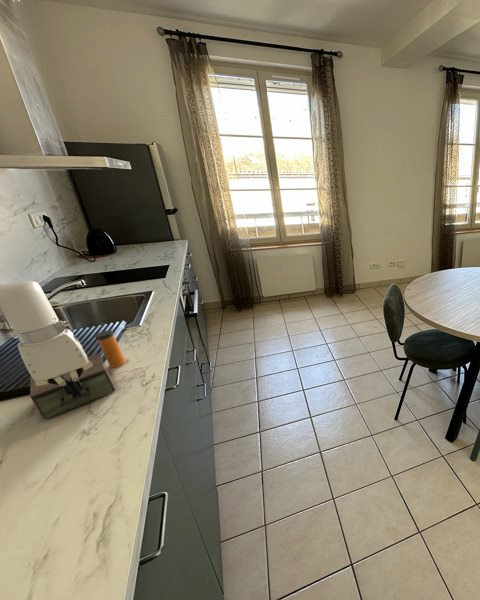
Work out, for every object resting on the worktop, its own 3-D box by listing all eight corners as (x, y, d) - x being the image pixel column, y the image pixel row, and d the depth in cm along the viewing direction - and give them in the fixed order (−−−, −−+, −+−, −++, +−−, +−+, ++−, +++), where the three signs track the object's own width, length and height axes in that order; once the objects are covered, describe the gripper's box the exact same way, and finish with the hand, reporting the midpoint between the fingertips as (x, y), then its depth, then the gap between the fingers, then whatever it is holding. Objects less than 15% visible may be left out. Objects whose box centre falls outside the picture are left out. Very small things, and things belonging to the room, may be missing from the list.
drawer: (115, 398, 89) (106, 380, 87) (47, 426, 80) (35, 408, 78) (106, 375, 100) (98, 359, 98) (45, 397, 91) (35, 380, 89)
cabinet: (116, 391, 93) (105, 369, 90) (45, 420, 84) (30, 396, 81) (109, 373, 102) (98, 353, 99) (43, 398, 93) (30, 376, 90)
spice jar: (128, 365, 106) (113, 332, 101) (111, 371, 103) (95, 338, 99) (125, 360, 109) (111, 328, 104) (109, 366, 106) (94, 334, 101)
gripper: (81, 316, 85) (111, 374, 92) (-4, 340, 75) (37, 403, 83) (83, 324, 80) (115, 385, 87) (-8, 351, 70) (37, 416, 78)
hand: (77, 393), depth 85 cm, fingers closed
